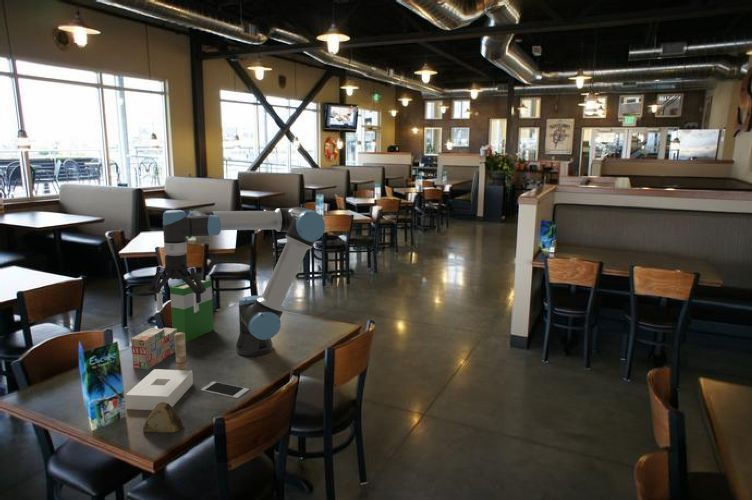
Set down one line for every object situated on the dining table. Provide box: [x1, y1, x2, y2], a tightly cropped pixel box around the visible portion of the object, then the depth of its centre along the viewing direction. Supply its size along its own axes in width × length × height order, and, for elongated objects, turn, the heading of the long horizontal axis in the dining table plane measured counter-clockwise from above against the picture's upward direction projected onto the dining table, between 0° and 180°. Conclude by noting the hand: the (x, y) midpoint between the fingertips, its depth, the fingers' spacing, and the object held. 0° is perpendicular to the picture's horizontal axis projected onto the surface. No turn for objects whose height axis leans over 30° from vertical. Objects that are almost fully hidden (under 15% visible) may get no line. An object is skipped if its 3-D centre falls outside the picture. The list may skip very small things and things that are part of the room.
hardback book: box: [169, 279, 214, 343], centre depth 236 cm, size 18×7×24 cm, turn 156°
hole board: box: [125, 368, 194, 411], centre depth 179 cm, size 14×20×5 cm
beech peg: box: [174, 332, 188, 370], centre depth 195 cm, size 4×4×16 cm
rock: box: [142, 402, 185, 433], centre depth 158 cm, size 11×9×10 cm
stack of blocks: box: [130, 327, 177, 371], centre depth 210 cm, size 21×6×12 cm, turn 168°
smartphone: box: [200, 381, 250, 399], centre depth 185 cm, size 7×15×1 cm, turn 69°
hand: (178, 310), depth 192 cm, fingers open, 13 cm apart
